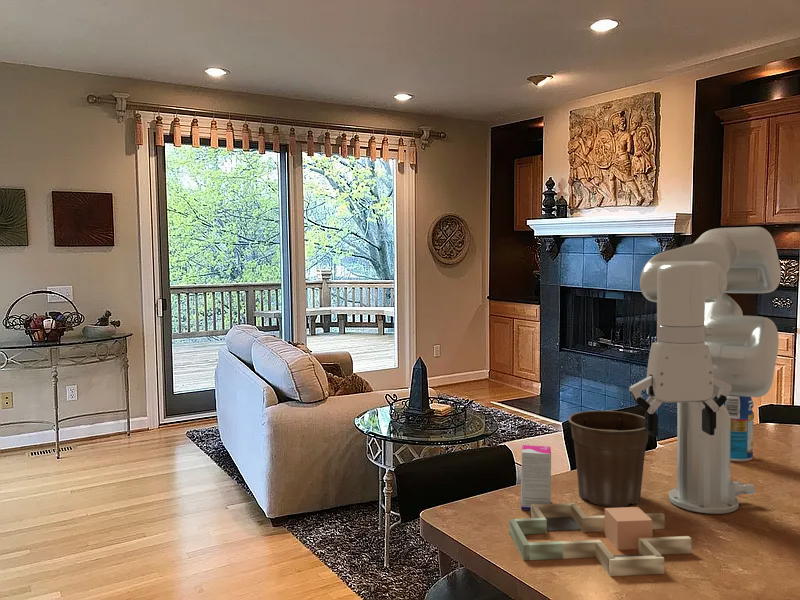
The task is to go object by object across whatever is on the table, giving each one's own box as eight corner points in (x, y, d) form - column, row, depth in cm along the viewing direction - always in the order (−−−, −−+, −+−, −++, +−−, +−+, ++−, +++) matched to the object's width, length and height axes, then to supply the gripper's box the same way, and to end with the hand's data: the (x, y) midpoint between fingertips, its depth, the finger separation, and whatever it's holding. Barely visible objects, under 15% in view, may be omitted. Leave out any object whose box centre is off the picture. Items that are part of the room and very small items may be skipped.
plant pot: (659, 514, 126) (659, 430, 125) (572, 510, 129) (571, 428, 128) (643, 485, 142) (643, 411, 141) (566, 482, 145) (565, 409, 144)
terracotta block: (637, 534, 118) (637, 506, 117) (652, 549, 112) (652, 520, 111) (604, 535, 117) (604, 508, 117) (617, 550, 111) (617, 521, 111)
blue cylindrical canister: (706, 454, 163) (707, 373, 162) (734, 450, 166) (735, 371, 164) (733, 464, 155) (734, 379, 154) (761, 460, 157) (763, 376, 156)
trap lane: (647, 512, 127) (647, 500, 127) (711, 571, 103) (711, 556, 103) (502, 518, 126) (502, 505, 125) (533, 579, 102) (533, 563, 101)
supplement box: (551, 511, 128) (551, 453, 128) (520, 510, 130) (520, 452, 129) (550, 501, 134) (550, 445, 133) (521, 499, 135) (520, 444, 135)
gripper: (719, 331, 117) (719, 427, 118) (622, 334, 117) (622, 429, 118) (742, 336, 109) (741, 438, 110) (638, 339, 109) (638, 441, 110)
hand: (680, 434), depth 114 cm, fingers open, 9 cm apart
